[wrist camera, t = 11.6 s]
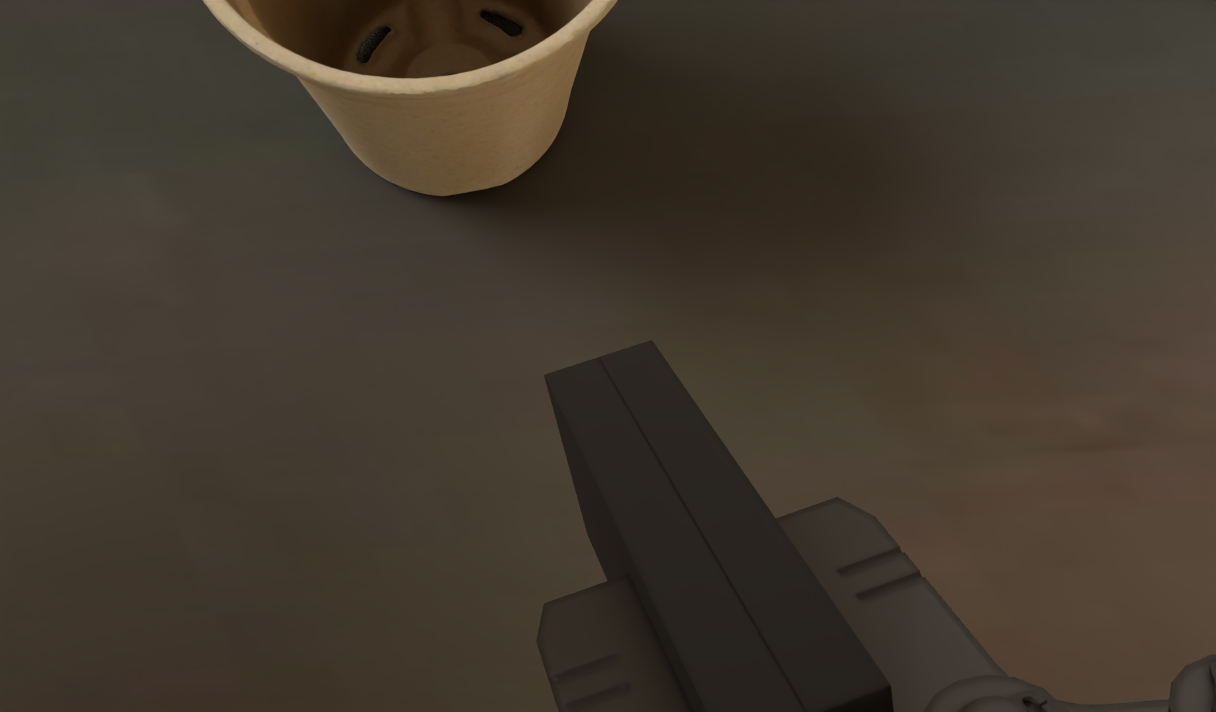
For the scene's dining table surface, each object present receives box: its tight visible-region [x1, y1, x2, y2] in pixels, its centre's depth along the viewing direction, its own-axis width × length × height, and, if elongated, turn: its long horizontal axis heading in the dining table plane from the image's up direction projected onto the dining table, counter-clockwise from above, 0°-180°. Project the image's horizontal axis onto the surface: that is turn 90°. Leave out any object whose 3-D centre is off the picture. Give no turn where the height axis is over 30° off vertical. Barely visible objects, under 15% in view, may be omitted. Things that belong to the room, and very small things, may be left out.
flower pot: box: [203, 0, 617, 196], centre depth 26 cm, size 9×9×9 cm
